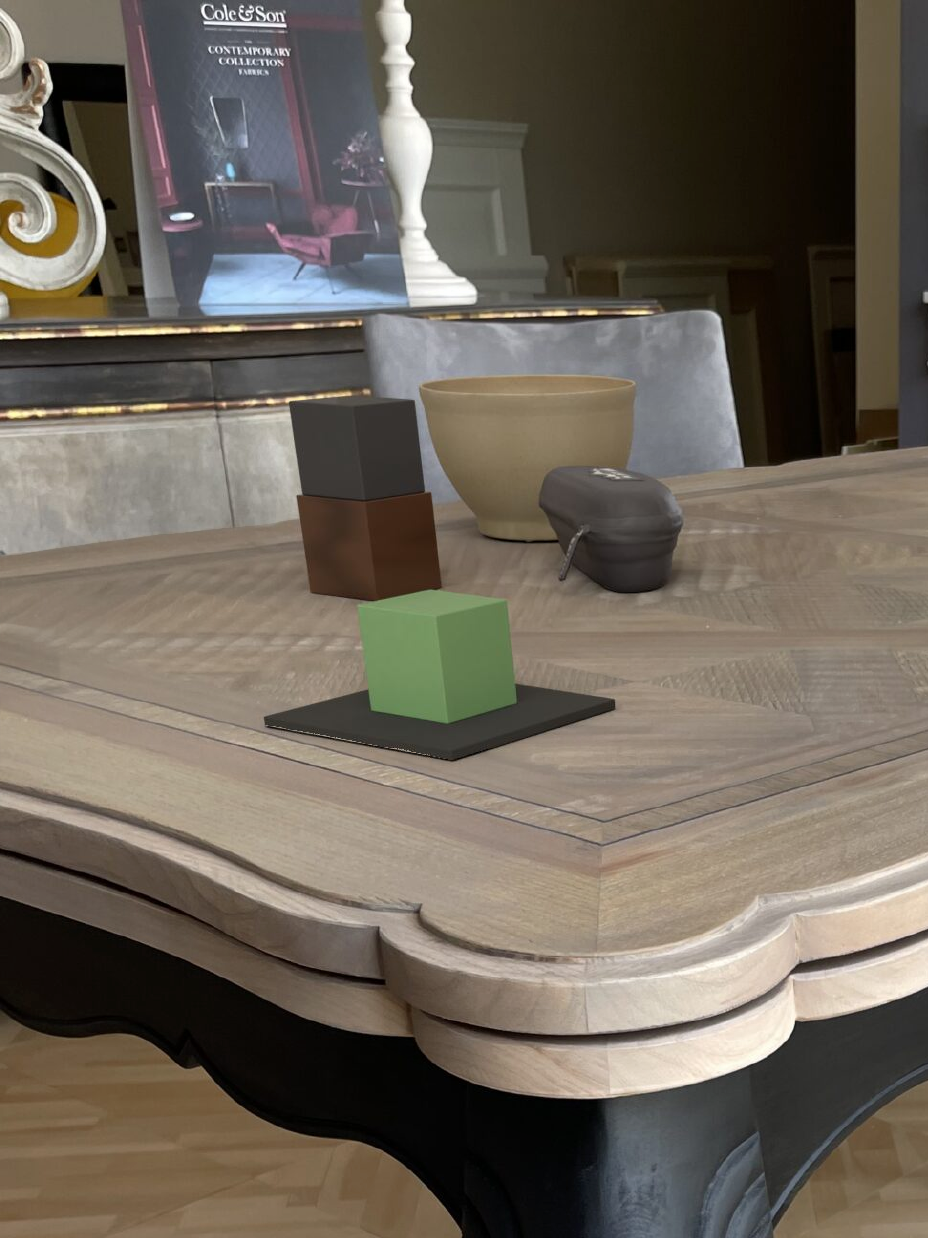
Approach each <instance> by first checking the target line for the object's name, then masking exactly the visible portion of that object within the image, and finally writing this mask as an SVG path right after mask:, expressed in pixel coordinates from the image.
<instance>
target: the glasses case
mask: <svg viewBox="0 0 928 1238" xmlns="http://www.w3.org/2000/svg"><path fill="white" fill-rule="evenodd" d="M538 505H539V507H540V508H541V509H543V510H544V512H545V513H546V515H547V517H548V520H549V522H550V525H551V527H552V528H553V530H554V531H555V533H556V535H557V538H558V540H557V542H558V543H559V545H560V548H561V551H562V552H563V554H564V556H565V558H564V561H563V564H562V567H561V569H560V571H559V575H558V581H559V582H564V581H566V579H567V575H568V573H569V571H570V569H571V565H572V564H573V565H574V566H575V567H576V568H577V569H578V570H580V571H581V572H582V573H583V574H585V575H587V576H588V577H589V578H590V579H592V580H594V581H595V582H596V583H598V584H599V585H601V586H603V587H604V588H606V589H607V590H610V591H613V592H617V593H638V592H646V591H647V592H648V591H652V590H657V589H659V588H661V587H662V586H663V585H664V584H665V583H666V582H667V580H668V579H669V576H670V574H671V570H672V565H673V557H674V551H675V550H676V548H677V545H678V542H679V541H678V540H679V535H680V534H681V532H682V528H683V526H684V516H683V510H682V507H681V506H680V505H679V504H678V501H677V499H676V497H675V495H674V493H673V492H672V490H671V489H670V488H669V487H668V486H667V485H665V484H664V483H663V482H661V481H660V480H659V479H656V478H654V477H652V476H649V475H647V474H644V473H641V472H637V471H634V470H633V471H632V470H629V469H626V470H624V469H618V468H610V467H599V466H563V467H557V468H554V469H553V470H551V471H550V472H549V473H548V474H547V475H546V476H545V478H544V480H543V484H542V487H541V491H540V492H539V503H538Z"/></svg>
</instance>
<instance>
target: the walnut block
mask: <svg viewBox="0 0 928 1238" xmlns="http://www.w3.org/2000/svg"><path fill="white" fill-rule="evenodd" d="M295 497H296V503H297V511H298V516H299V523H300V530H301V537H302V544H303V551H304V558H305V565H306V570H307V579H308V585H309V592H310V593H312V594H319V595H329V596H335V597H342V598H349V599H356V600H357V599H358V600H363V601H370V602H374V601H378V600H383V599H388V598H393V597H397V596H402V595H407V594H412V593H416V592H421V591H426V590H437V589H442V588H443V584H442V575H441V566H440V557H439V548H438V541H437V531H436V523H435V513H434V505H433V496H432V492H431V491H427V490H425V492H421V493H414V494H408V495H401V496H395V497H388V498H381V499H375V500H368V501H359V500H349V499H340V498H330V497H320V496H310V495H303V494H302V493H301V494H296V495H295Z"/></svg>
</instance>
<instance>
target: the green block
mask: <svg viewBox="0 0 928 1238" xmlns="http://www.w3.org/2000/svg"><path fill="white" fill-rule="evenodd" d="M356 607H357V608H356V609H357V615H358V624H359V630H360V638H361V645H362V646H361V647H362V653H363V661H364V667H365V668H364V669H365V674H366V683H367V689H368V690H369V698H370V705H371V710H372V711H376V712H381V713H387V714H393V715H399V716H405V717H410V718H416V719H422V720H428V721H434V722H439V723H445V724H449V723H453V722H456V721H459V720H463V719H466V718H470V717H473V716H476V715H480V714H483V713H487V712H490V711H493V710H497V709H500V708H503V707H507V706H510V705H514V704H516V703H517V699H516V689H515V684H516V680H515V679H516V677H515V669H514V657H513V648H512V639H511V626H510V618H509V617H510V616H509V607H508V599H505V598H497V597H489V596H483V595H474V594H468V593H461V592H453V591H452V592H451V591H445V590H437V589H434V590H426V591H421V592H416V593H412V594H407V595H402V596H397V597H393V598H388V599H383V600H378V601H369V602H364V603H360V604H357V605H356Z"/></svg>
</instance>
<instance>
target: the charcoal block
mask: <svg viewBox="0 0 928 1238" xmlns="http://www.w3.org/2000/svg"><path fill="white" fill-rule="evenodd" d="M288 408H289V413H290V420H291V421H290V422H291V428H292V434H293V442H294V449H295V455H296V462H297V463H296V464H297V468H298V475H299V484H300V488H301V489H300V490H301V494H303V495H310V496H320V497H330V498H340V499H349V500H359V501H368V500H375V499H381V498H388V497H395V496H401V495H408V494H414V493H421V492H425V491H426V485H425V477H424V467H423V460H422V450H421V442H420V433H419V424H418V416H417V409H416V408H417V407H416V400H415V399H411V398H410V399H409V398H392V397H381V396H367V395H343V396H341V395H340V396H331V397H330V396H329V397H320V398H309V399H299V400H298V399H297V400H289V401H288Z"/></svg>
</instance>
